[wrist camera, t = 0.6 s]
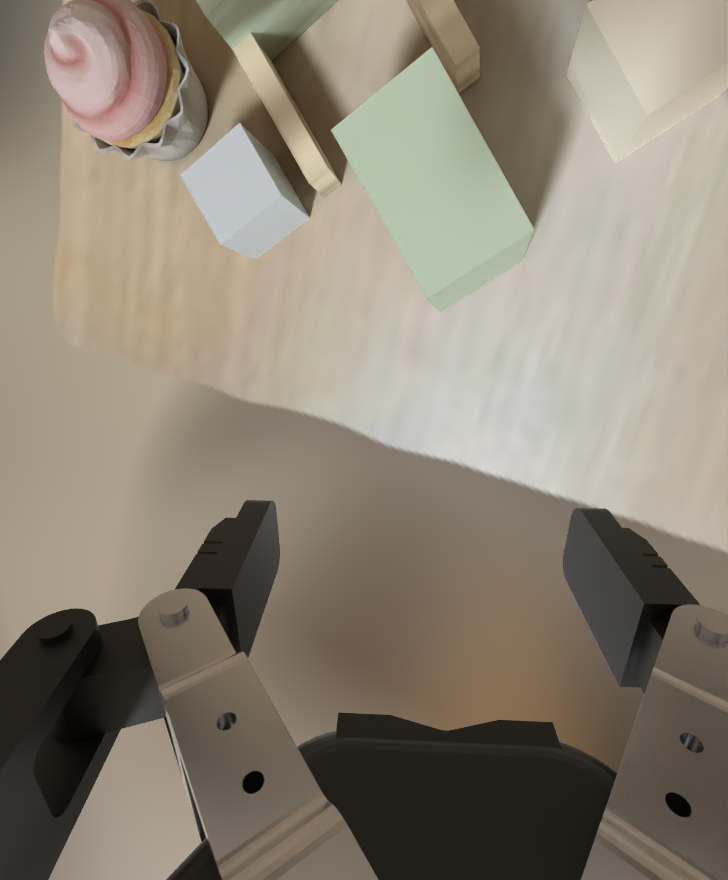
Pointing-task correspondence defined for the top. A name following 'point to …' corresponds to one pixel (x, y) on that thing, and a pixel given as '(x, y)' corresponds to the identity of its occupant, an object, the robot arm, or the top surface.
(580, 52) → the cream block
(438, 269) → the sage block
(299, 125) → the birch bay
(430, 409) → the top surface
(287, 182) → the grey-blue block
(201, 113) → the cupcake
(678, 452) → the top surface
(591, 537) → the robot arm
